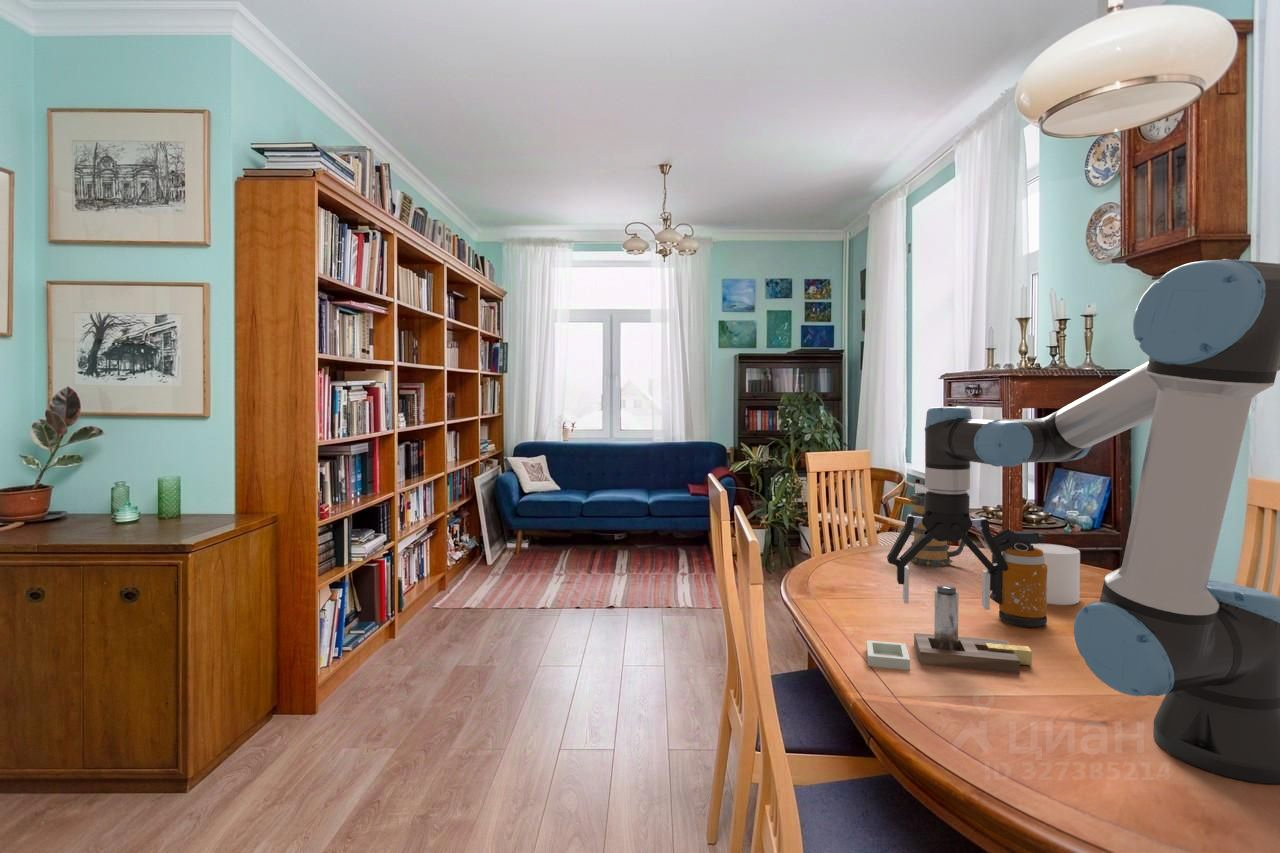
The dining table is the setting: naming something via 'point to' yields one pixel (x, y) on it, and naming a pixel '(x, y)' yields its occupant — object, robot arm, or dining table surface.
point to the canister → (1021, 579)
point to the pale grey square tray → (887, 655)
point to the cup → (1061, 573)
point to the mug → (934, 550)
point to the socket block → (966, 655)
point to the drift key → (1013, 651)
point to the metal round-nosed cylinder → (946, 618)
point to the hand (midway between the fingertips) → (945, 604)
